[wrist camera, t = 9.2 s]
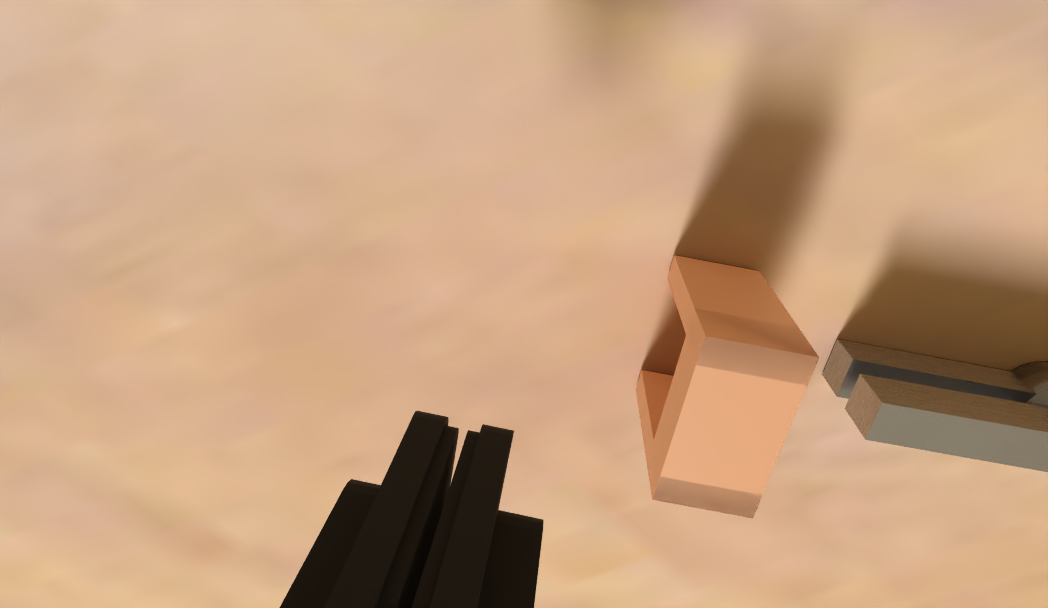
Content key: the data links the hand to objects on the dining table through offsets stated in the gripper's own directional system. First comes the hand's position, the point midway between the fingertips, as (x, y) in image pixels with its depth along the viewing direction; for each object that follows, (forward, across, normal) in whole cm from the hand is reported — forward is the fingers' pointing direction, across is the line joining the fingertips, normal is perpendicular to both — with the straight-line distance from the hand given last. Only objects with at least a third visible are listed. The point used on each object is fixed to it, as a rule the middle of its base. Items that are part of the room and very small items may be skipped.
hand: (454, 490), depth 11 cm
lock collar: (+9, -5, 0) cm, 10 cm away
